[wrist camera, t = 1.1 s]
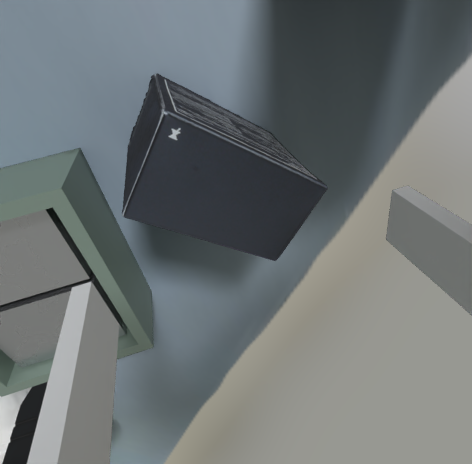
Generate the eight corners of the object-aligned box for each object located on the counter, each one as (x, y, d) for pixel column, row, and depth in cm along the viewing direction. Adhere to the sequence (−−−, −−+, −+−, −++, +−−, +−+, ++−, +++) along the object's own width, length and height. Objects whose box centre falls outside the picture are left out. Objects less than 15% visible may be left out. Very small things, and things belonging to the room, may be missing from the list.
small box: (123, 152, 25) (114, 221, 16) (153, 69, 22) (160, 101, 14) (237, 196, 29) (276, 267, 21) (273, 132, 27) (334, 184, 18)
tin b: (100, 245, 28) (93, 284, 24) (127, 294, 32) (125, 334, 28) (-5, 276, 27) (-30, 321, 23) (36, 322, 31) (21, 368, 27)
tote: (80, 147, 24) (61, 187, 18) (151, 291, 33) (153, 347, 28) (-102, 195, 23) (-183, 253, 17) (26, 330, 32) (1, 397, 26)
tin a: (59, 174, 24) (43, 206, 20) (97, 240, 27) (89, 278, 23) (-65, 207, 23) (-109, 248, 19) (-9, 271, 27) (-36, 315, 23)
